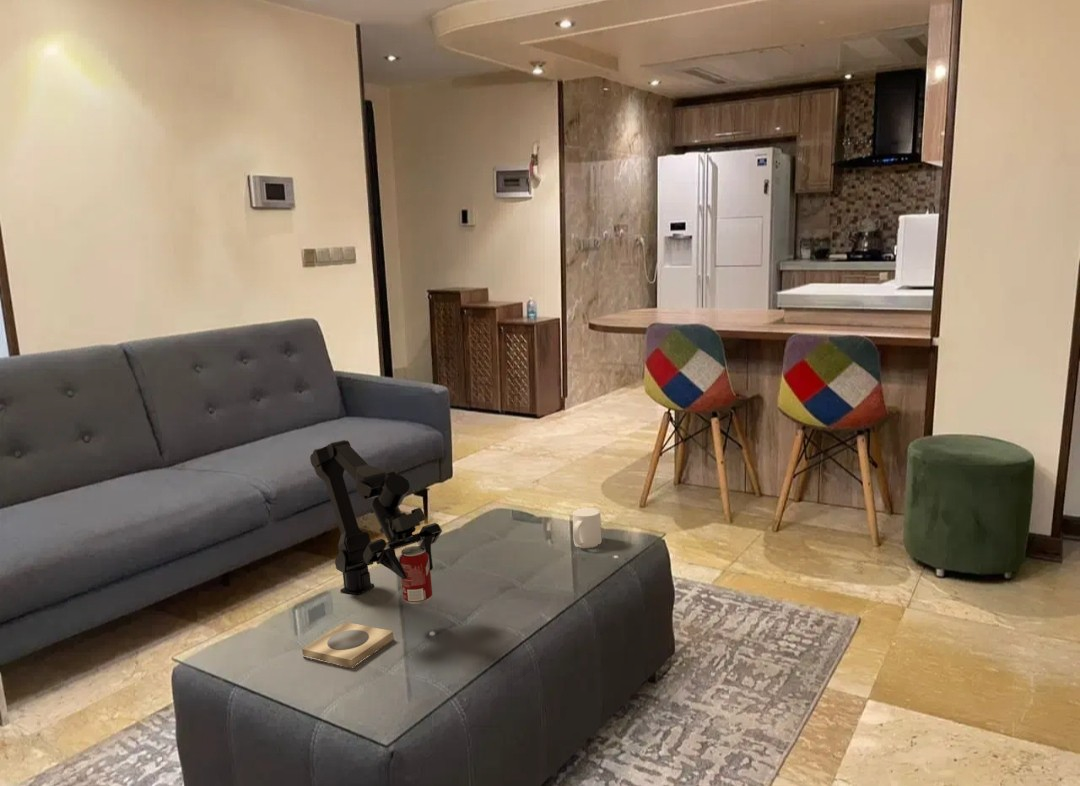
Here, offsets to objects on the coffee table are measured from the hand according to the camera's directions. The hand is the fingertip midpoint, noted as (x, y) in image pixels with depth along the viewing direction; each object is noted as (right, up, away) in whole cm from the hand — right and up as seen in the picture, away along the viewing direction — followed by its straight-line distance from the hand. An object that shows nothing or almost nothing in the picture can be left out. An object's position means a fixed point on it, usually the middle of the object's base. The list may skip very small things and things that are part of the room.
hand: (418, 573), depth 185 cm
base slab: (-15, -15, -5) cm, 22 cm away
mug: (+41, -3, +49) cm, 65 cm away
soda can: (0, -7, +2) cm, 7 cm away
